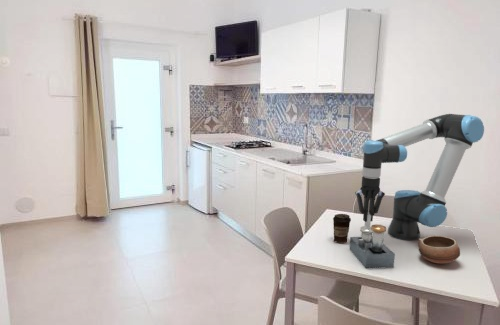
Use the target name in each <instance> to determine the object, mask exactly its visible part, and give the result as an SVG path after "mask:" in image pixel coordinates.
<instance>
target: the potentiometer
mask: <svg viewBox="0 0 500 325" xmlns="http://www.w3.org/2000/svg"><path fill="white" fill-rule="evenodd" d="M358 246H361V247H364V246H365V240H364V239H359V240H358Z"/></svg>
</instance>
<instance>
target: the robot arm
mask: <svg viewBox="0 0 500 325" xmlns="http://www.w3.org/2000/svg"><path fill="white" fill-rule="evenodd" d="M484 133H485V126H484V123H483V121H482V120H481V118H479V117H478V116H476V115H475V116H474V115H470V114H455V113H445V114H441V115H438V116H435V117H432V118H429V119H426V120H424V121H423V122H422V124H419V125H416V126H415V125H414V126H413V127H410V128H408V129H405V130H402V131H399V132H397V133H394V134H391V135H388V136H386V137H382V138H380V139H376V140H374V139H371V140H370V139H369V140H366V141H365V142H364V143H363V145H362V151H363V160H362V161H363V162H362V173H361V174H362V177H361V187H360V190H358V191H355V192H354V194H355V195H356V198H357V199H356V200H357V205H358V210H359V212H360V214H363V219H362V220H363V222H364V225H363V226H364V227H365V228H366V229H370V227H371V222H373V219H374V215H375V214H378V213H379V210H380V207H381V202H382V200H383V198H384V197H385V195H386V193H385V192H384V191H381V188H380V187H381V186H380V183H381V178H380V177H381V174H382V173H381V172H382V164H384V163H385V164H387V163H388V164H390V163H402V162H405V160H407V157H408V149H407V148H406V147H409V146H411V145H414V144H417V143H419V142H422V141H425V140H428V139H429V140H434V139H437V138H444V140H443V141H445V145H444V148H443V150H442V151H441V154H440V156H439V159H438V160H437V163H436V166H435V168H434V170H433V172H432V174H431V176H430V179H429V181H428V183H427V185H426V188H425V189H424V191H418V190H413V189H410V190H409V189H403V190H402V189H401V190H397V191H396V192H395V193H394V198H393V210H392V219H391V221H390V223H389V226H388V228H387V234H388V235H389V236H390V237H392V238H394V239H399V240H403V241H415V240H419V239H421V238H420V236H421V231H420V228H419V224H421V225H422V226H426V227H429V228H436V227H438V226H440V225H442V224H443V223H444V222H445V221H446V219H447V216H448V209H447V207H446V204H447V201H446V198H445V197H446V194H447V192H448V191H449V189H450V186H451V184H452V182H453V179H454V178H455V174H456V172H457V170H458V167H459V166H460V164H461V161H462V159H463V156H464V155H465V153H466V150H469V149H471V148H472V146H473V145H474V144H475V143H478V142H479V141H481V140H482V138H483V136H484ZM362 195H363V198H362ZM376 196H377V197H376Z"/></svg>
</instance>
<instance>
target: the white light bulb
mask: <svg viewBox="0 0 500 325" xmlns="http://www.w3.org/2000/svg"><path fill="white" fill-rule="evenodd" d="M364 226H365V225H363V226H361V227H360V230H359V231H360V232H361V236H360V237H361V239H364V240H365V243H371V242H372V235H373V230H371V226H370V229H366V228H365V227H364Z"/></svg>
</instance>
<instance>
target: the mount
mask: <svg viewBox="0 0 500 325" xmlns="http://www.w3.org/2000/svg"><path fill="white" fill-rule="evenodd" d="M361 237H362V236H350V237H349V238H350V239H349V250H350V251H351V253H352V254H353V256H354V257H355V258H356V259H357V260H358V261H359V263H360V264H361V265H362V266H363V267H364V268H365V269H389V268H394V267H395V260H396V259H395V256H396V254H395V252H393V251H392V250H391V249H390V248H389V247H388V246H386V244H384V243H383V249H382V252H374V251H372V250H371V247H372V242H371V243H365V246H364V247H361V246H358V240H359V239H361Z"/></svg>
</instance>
